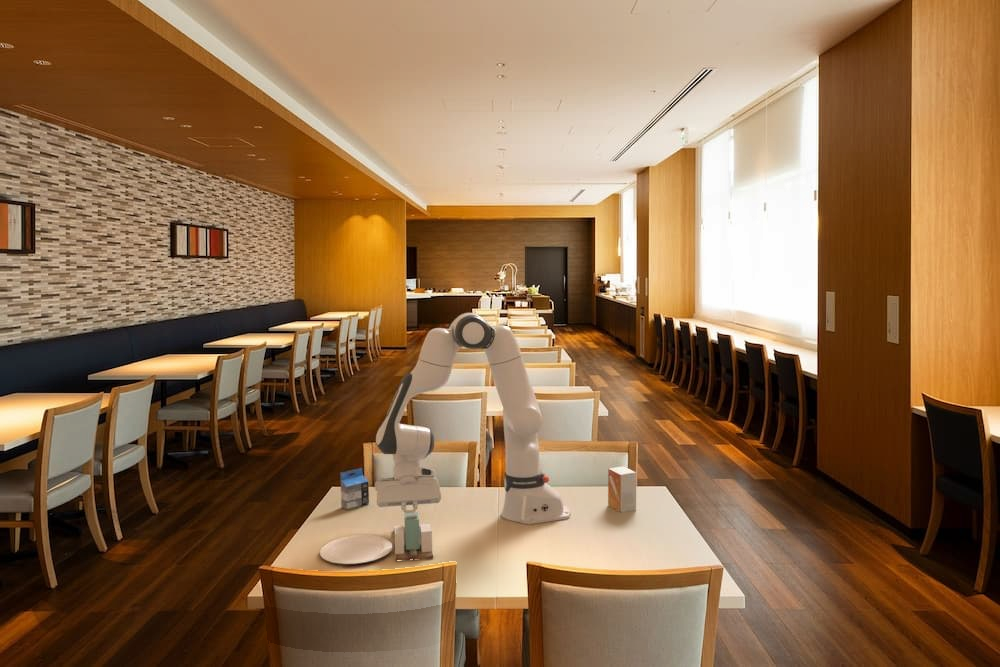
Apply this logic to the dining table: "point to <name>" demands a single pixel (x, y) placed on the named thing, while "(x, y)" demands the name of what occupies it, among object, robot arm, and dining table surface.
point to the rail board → (413, 552)
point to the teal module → (411, 531)
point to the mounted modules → (424, 538)
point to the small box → (622, 489)
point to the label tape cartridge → (354, 489)
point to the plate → (355, 550)
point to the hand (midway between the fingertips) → (410, 516)
